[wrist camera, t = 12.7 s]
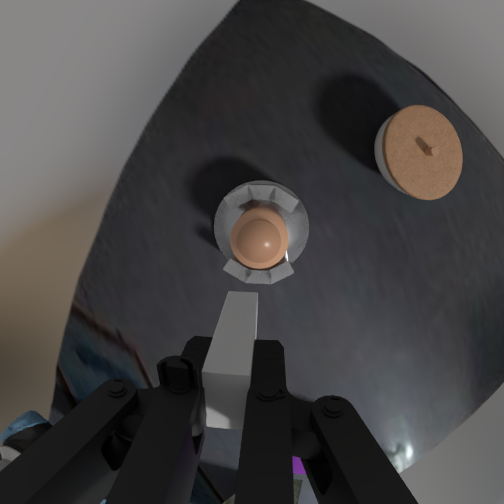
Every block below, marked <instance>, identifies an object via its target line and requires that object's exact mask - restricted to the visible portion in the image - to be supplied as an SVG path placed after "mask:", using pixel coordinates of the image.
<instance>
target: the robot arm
mask: <svg viewBox="0 0 504 504" xmlns="http://www.w3.org/2000/svg"><path fill="white" fill-rule="evenodd" d="M257 309H258V293H252V292H233V291H228V294H227V297H226V300H225V303H224V306H223V309H222V312H221V315H220V318H219V321H218V324H217V327H216V330H215V333H214V336H213V337H202V336H194V337H193V338H192V339H190V340H189V341H188V342H187V344H186V346H185V348H184V350H183V352H182V354H181V356H170V357H166V358H164V359H162V360H160V361H159V362H158V364H157V370H158V375H159V381H160V385H159V387H156V388H149V389H136V386H135V385H134V383H133V382H131V381H130V380H128V379H124V378H114V379H110V380H108V381H106V382H104V383H103V384H101V385H100V386H99V387H98V388H97V389H96V390H95V391H93V392H92V393H91V394H90V395H89V396H88V397H86V398H85V399H84V400H83V401H82V402H81V403H79V404H78V405H77V406H76V407H75V408H74V409H72V410H71V411H70V412H69V413H68V414H67V415H65V416H64V417H63V418H62V419H61V420H60V421H58V422H57V423H56V424H55V425H54V426H52V425H51V424H50V422H49V421H47V420H46V419H44V418H43V417H42V416H41V415H40V414H39V413H37V412H36V411H32V410H30V411H27V412H25V413H24V414H23V415H21V416H20V417H18V418H17V419H16V420H15V421H13V422H12V423H11V424H10V426H8V428H6V429H5V430H4V431H3V433H2V434H1V436H0V440H1V441H2V443H3V445H2V447H1V448H0V452H1V455H2V461H1V462H0V504H189V502H190V497H191V493H192V489H193V485H194V480H195V476H196V472H197V468H198V463H199V459H200V455H201V451H202V446H203V442H204V438H205V436H204V425H205V421H206V423H207V427H216V428H226V429H238V430H243V433H242V441H241V450H240V458H239V466H238V475H237V483H236V491H235V499H234V504H294V482H293V458H292V456H295V457H299V458H300V459H301V462H302V464H303V467H304V469H305V472H306V474H307V477H308V479H309V482H310V484H311V486H312V489H313V491H314V494H315V496H316V498H317V501H318V503H319V504H418V503H417V501H416V499H415V498H414V496H413V495H412V494H411V492H410V490H409V489H408V488H407V486H406V484H405V483H404V481H403V480H402V478H401V477H400V475H399V474H398V473H397V471H396V470H395V468H394V467H393V465H392V464H391V462H390V461H389V459H388V458H387V456H386V455H385V453H384V452H383V450H382V449H381V447H380V446H379V444H378V443H377V441H376V440H375V438H374V437H373V435H372V434H371V432H370V431H369V429H368V428H367V426H366V425H365V423H364V422H363V420H362V419H361V417H360V416H359V414H358V413H357V411H356V410H355V408H354V407H353V405H352V404H351V403H350V402H349V401H348V400H346V399H344V398H342V397H339V396H334V395H331V396H323V397H321V398H318V399H317V400H316V401H315V402H314V403H310V402H305V401H302V400H299V399H297V398H295V397H293V396H292V395H291V394H290V393H289V392H288V390H287V387H286V375H285V359H284V347H283V346H282V345H281V343H280V342H279V341H278V340H256V332H257Z"/></svg>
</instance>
